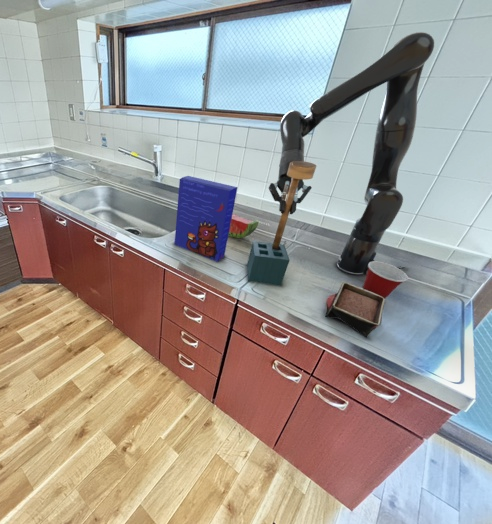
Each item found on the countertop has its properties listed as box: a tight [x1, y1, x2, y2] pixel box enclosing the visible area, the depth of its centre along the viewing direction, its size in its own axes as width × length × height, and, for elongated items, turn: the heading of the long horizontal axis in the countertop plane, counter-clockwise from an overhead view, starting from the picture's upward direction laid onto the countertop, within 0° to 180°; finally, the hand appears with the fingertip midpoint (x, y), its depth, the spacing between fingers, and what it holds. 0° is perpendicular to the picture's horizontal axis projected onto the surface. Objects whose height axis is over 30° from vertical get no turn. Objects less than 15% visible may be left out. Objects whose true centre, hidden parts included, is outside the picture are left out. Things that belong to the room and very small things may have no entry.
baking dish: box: [324, 282, 386, 339], centre depth 87 cm, size 14×18×10 cm
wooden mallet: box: [272, 160, 317, 250], centre depth 95 cm, size 8×7×33 cm
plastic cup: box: [362, 260, 409, 299], centre depth 95 cm, size 11×11×12 cm
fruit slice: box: [228, 213, 259, 239], centre depth 137 cm, size 26×6×10 cm, turn 38°
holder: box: [246, 240, 290, 287], centre depth 107 cm, size 11×11×11 cm
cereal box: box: [174, 175, 238, 263], centre depth 117 cm, size 22×6×30 cm, turn 48°
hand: (287, 212), depth 95 cm, fingers closed on wooden mallet
